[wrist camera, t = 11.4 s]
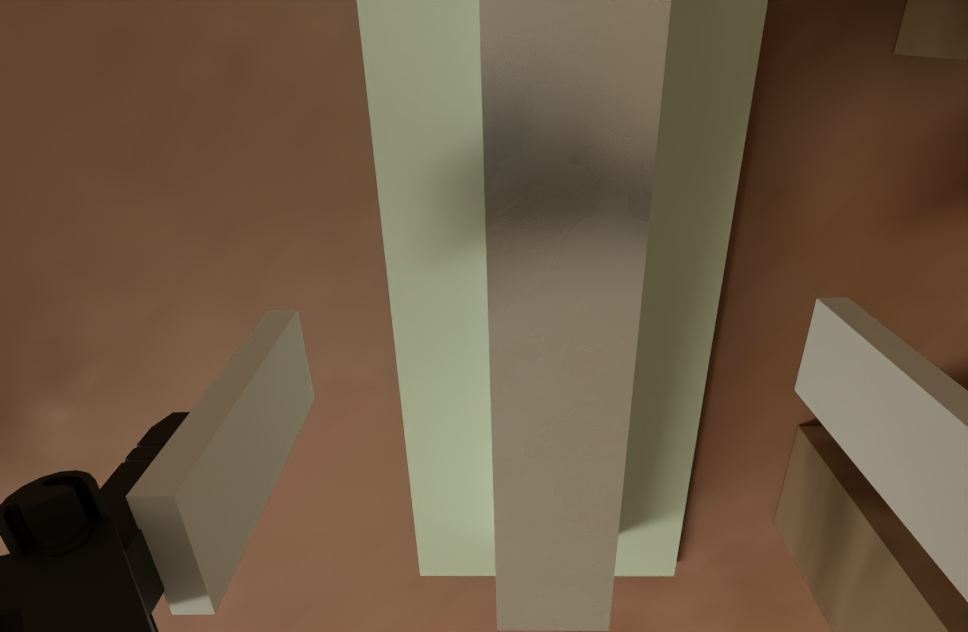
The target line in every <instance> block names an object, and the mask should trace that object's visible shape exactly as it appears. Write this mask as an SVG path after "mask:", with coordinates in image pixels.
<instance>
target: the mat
mask: <svg viewBox="0 0 968 632" xmlns="http://www.w3.org/2000/svg"><path fill="white" fill-rule="evenodd" d="M767 4H768V0H671V8H670V18H669V28H668V38H667V48H666V58H665V68H664V78H663V88H662V98H661V109H660V119H659V129H658V139H657V149H656V159H655V169H654V179H653V189H652V200H651V210H650V220H649V230H648V240H647V250H646V260H645V270H644V280H643V290H642V301H641V311H640V321H639V331H638V341H637V351H636V361H635V371H634V381H633V392H632V402H631V412H630V422H629V432H628V442H627V452H626V462H625V472H624V482H623V493H622V503H621V513H620V523H619V533H618V543H617V553H616V563H615V573H614V576H674V573H675V567H676V561H677V555H678V549H679V542H680V536H681V530H682V524H683V518H684V512H685V506H686V500H687V494H688V487H689V481H690V475H691V469H692V463H693V457H694V451H695V445H696V438H697V432H698V426H699V420H700V414H701V408H702V402H703V396H704V390H705V383H706V377H707V371H708V365H709V359H710V353H711V347H712V341H713V334H714V328H715V322H716V316H717V310H718V304H719V298H720V292H721V286H722V279H723V273H724V267H725V261H726V255H727V249H728V243H729V237H730V230H731V224H732V218H733V212H734V206H735V200H736V194H737V188H738V182H739V175H740V169H741V163H742V157H743V151H744V145H745V139H746V133H747V126H748V120H749V114H750V108H751V102H752V96H753V90H754V84H755V78H756V71H757V65H758V59H759V53H760V47H761V41H762V35H763V29H764V22H765V16H766V10H767ZM357 7H358V16H359V25H360V34H361V43H362V52H363V61H364V70H365V80H366V89H367V98H368V107H369V116H370V125H371V134H372V143H373V152H374V161H375V170H376V179H377V188H378V197H379V206H380V215H381V224H382V234H383V243H384V252H385V261H386V270H387V279H388V288H389V297H390V306H391V315H392V324H393V333H394V342H395V351H396V360H397V369H398V378H399V387H400V397H401V406H402V415H403V424H404V433H405V442H406V451H407V460H408V469H409V478H410V487H411V496H412V505H413V514H414V523H415V532H416V541H417V551H418V560H419V569H420V576H496V571H495V537H494V502H493V468H492V434H491V399H490V365H489V330H488V296H487V262H486V227H485V193H484V158H483V124H482V90H481V55H480V21H479V0H357Z"/></svg>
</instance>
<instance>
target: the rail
mask: <svg viewBox="0 0 968 632" xmlns="http://www.w3.org/2000/svg"><path fill="white" fill-rule="evenodd" d="M670 8H671V0H479V21H480V55H481V90H482V124H483V158H484V193H485V227H486V262H487V296H488V330H489V365H490V399H491V434H492V468H493V502H494V537H495V571H496V606H497V630H559V631H609V624H610V614H611V604H612V594H613V583H614V573H615V563H616V553H617V543H618V533H619V523H620V513H621V503H622V493H623V482H624V472H625V462H626V452H627V442H628V432H629V422H630V412H631V402H632V392H633V381H634V371H635V361H636V351H637V341H638V331H639V321H640V311H641V301H642V290H643V280H644V270H645V260H646V250H647V240H648V230H649V220H650V210H651V200H652V189H653V179H654V169H655V159H656V149H657V139H658V129H659V119H660V109H661V98H662V88H663V78H664V68H665V58H666V48H667V38H668V28H669V18H670Z"/></svg>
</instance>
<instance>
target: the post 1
mask: <svg viewBox="0 0 968 632" xmlns="http://www.w3.org/2000/svg"><path fill="white" fill-rule="evenodd" d="M774 524H775V526H776V528H777V530H778V532H779V534H780V536H781V537H782V539H783V541H784V543H785V545H786V547H787V549H788V550H789V552H790V554H791V556H792V558H793V560H794V561H795V563H796V565H797V567H798V569H799V571H800V573H801V574H802V576H803V578H804V580H805V582H806V584H807V586H808V587H809V589H810V591H811V593H812V595H813V597H814V599H815V600H816V602H817V604H818V606H819V608H820V610H821V611H822V613H823V615H824V617H825V619H826V621H827V623H828V624H829V626H830V628H831V630H832V632H968V602H967V601H966V599H965V598H964V597H963V596H962V595H961V593H960V592H959V591H958V590H957V588H956V587H955V586H954V585H953V584H952V582H951V581H950V580H949V579H948V577H947V576H946V575H945V574H944V573H943V571H942V570H941V569H940V568H939V566H938V565H937V564H936V563H935V562H934V560H933V559H932V558H931V557H930V555H929V554H928V553H927V552H926V551H925V549H924V548H923V547H922V546H921V544H920V543H919V542H918V541H917V540H916V538H915V537H914V536H913V535H912V533H911V532H910V531H909V530H908V529H907V527H906V526H905V525H904V524H903V522H902V521H901V520H900V519H899V517H898V516H897V515H896V514H895V513H894V511H893V510H892V509H891V508H890V506H889V505H888V504H887V503H886V502H885V500H884V499H883V498H882V497H881V495H880V494H879V493H878V492H877V491H876V489H875V488H874V487H873V486H872V484H871V483H870V482H869V481H868V480H867V478H866V477H865V476H864V475H863V473H862V472H861V471H860V470H859V469H858V467H857V466H856V465H855V464H854V462H853V461H852V460H851V459H850V458H849V456H848V455H847V454H846V453H845V451H844V450H843V449H842V448H841V447H840V445H839V444H838V443H837V442H836V440H835V439H834V438H833V437H832V436H831V434H830V433H829V432H828V431H827V429H826V428H825V427H824V426H798V429H797V433H796V437H795V441H794V445H793V448H792V452H791V456H790V460H789V464H788V468H787V472H786V476H785V480H784V484H783V488H782V491H781V495H780V499H779V503H778V507H777V511H776V515H775V519H774Z"/></svg>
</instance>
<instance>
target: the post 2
mask: <svg viewBox="0 0 968 632" xmlns="http://www.w3.org/2000/svg"><path fill="white" fill-rule="evenodd" d="M894 54H897V55H908V56H920V57H931V58H942V59H953V60H964V61H968V0H907V3H906V7H905V11H904V15H903V19H902V23H901V27H900V31H899V35H898V39H897V42H896V46H895V50H894Z"/></svg>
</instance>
